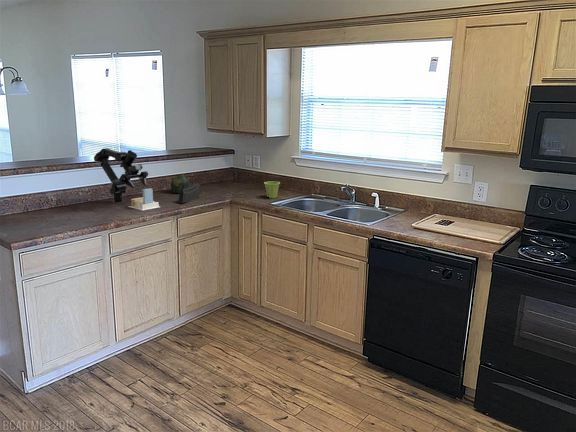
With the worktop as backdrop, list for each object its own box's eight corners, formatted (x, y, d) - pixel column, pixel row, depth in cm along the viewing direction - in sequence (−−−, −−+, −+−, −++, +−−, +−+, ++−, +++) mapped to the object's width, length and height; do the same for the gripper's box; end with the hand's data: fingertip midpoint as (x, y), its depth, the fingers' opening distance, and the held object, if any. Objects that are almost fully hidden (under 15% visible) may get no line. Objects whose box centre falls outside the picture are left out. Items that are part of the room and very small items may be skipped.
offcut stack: (131, 206, 291) (130, 199, 290) (143, 203, 299) (143, 197, 298) (137, 207, 287) (137, 200, 286) (150, 205, 295) (150, 198, 294)
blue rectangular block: (143, 208, 287) (142, 189, 284) (151, 206, 291) (150, 188, 289) (145, 208, 286) (144, 189, 283) (153, 207, 290) (152, 188, 287)
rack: (127, 208, 291) (126, 201, 290) (145, 205, 302) (145, 198, 300) (142, 212, 281) (142, 205, 280) (161, 209, 292) (160, 202, 291)
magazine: (180, 192, 302) (198, 173, 327) (176, 191, 303) (194, 173, 328) (184, 214, 311) (202, 194, 336) (180, 214, 311) (198, 194, 336)
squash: (163, 185, 342) (174, 172, 336) (175, 183, 356) (186, 170, 350) (175, 199, 340) (186, 186, 334) (186, 196, 354) (197, 183, 348)
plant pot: (275, 195, 345) (276, 180, 343) (282, 198, 335) (282, 183, 332) (261, 196, 340) (261, 181, 338) (267, 199, 330) (267, 184, 327)
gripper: (120, 161, 282) (132, 180, 278) (145, 159, 296) (157, 177, 293) (114, 172, 288) (125, 191, 285) (139, 169, 303) (150, 188, 299)
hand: (140, 187), depth 290 cm, fingers open, 9 cm apart
